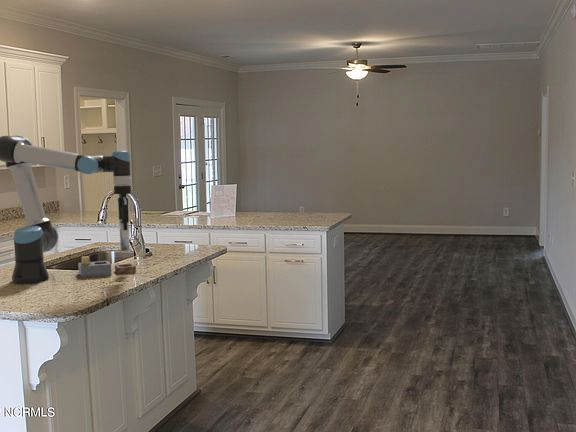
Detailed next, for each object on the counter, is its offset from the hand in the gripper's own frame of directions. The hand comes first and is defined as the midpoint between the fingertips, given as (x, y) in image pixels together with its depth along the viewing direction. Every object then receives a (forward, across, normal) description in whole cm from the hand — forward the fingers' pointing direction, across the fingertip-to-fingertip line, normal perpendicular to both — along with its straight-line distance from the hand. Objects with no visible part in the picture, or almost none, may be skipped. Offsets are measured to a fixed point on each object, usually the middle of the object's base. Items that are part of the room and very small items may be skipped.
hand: (124, 236), depth 305 cm
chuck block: (+17, 0, +14) cm, 22 cm away
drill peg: (+6, 0, 0) cm, 6 cm away
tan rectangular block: (+15, 0, +17) cm, 23 cm away
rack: (+17, 0, 0) cm, 17 cm away
